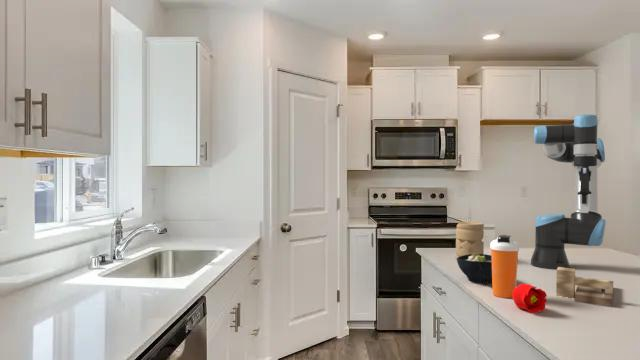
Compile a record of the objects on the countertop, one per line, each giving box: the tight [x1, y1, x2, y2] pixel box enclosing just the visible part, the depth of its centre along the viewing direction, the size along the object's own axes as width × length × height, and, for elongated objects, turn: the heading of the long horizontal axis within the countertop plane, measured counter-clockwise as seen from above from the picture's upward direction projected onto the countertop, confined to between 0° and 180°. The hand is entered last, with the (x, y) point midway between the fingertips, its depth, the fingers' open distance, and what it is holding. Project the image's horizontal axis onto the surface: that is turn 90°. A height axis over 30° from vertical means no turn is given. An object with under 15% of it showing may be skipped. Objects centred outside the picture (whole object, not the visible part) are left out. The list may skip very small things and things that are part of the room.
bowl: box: [456, 254, 492, 284], centre depth 163 cm, size 17×17×10 cm
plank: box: [573, 280, 614, 308], centre depth 144 cm, size 10×28×2 cm, turn 145°
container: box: [455, 221, 485, 261], centre depth 203 cm, size 13×13×18 cm
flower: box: [512, 283, 548, 314], centre depth 128 cm, size 8×8×8 cm
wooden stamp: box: [555, 267, 610, 299], centre depth 140 cm, size 14×5×9 cm, turn 55°
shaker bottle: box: [489, 234, 520, 299], centre depth 142 cm, size 9×9×20 cm
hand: (584, 211), depth 160 cm, fingers open, 13 cm apart
